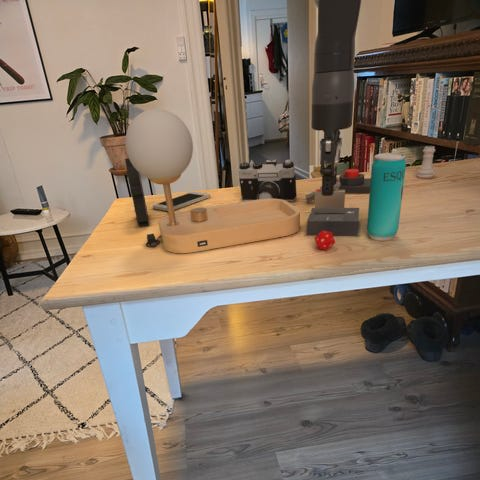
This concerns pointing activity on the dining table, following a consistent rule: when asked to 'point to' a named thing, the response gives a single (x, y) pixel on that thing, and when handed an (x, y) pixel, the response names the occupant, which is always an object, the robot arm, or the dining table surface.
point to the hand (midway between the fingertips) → (329, 189)
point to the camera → (267, 180)
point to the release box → (355, 184)
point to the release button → (352, 173)
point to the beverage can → (385, 195)
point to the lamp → (199, 219)
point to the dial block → (334, 222)
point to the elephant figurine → (312, 195)
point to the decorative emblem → (137, 194)
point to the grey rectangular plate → (329, 202)
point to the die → (324, 240)
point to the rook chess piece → (427, 163)
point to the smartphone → (183, 200)
